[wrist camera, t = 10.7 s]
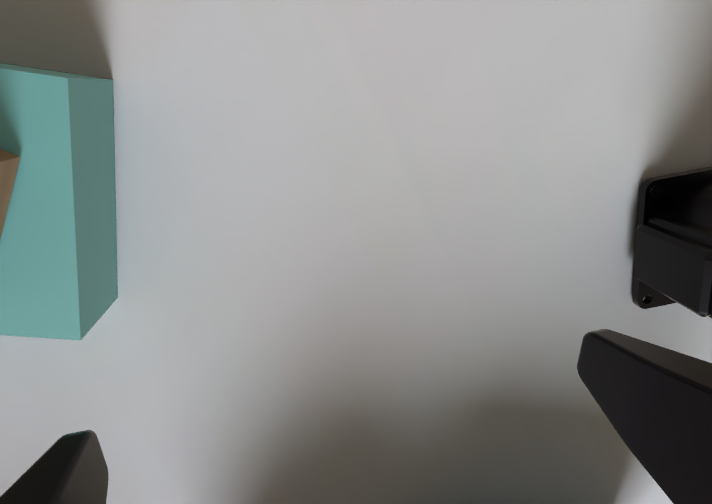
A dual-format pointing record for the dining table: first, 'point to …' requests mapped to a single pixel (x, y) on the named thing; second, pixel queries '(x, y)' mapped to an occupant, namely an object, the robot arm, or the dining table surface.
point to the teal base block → (57, 203)
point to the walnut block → (6, 181)
